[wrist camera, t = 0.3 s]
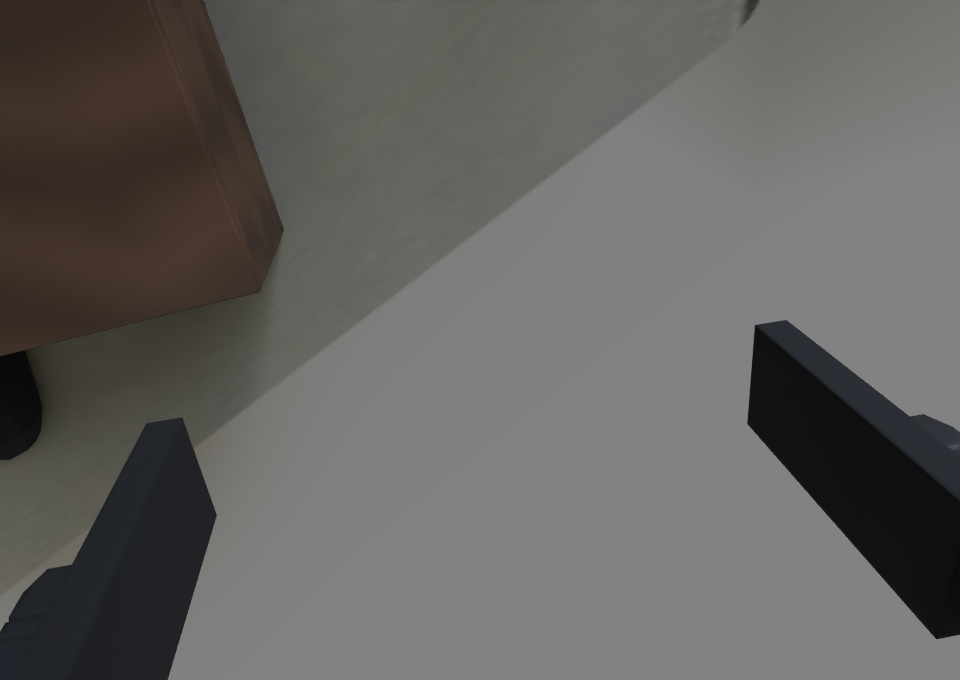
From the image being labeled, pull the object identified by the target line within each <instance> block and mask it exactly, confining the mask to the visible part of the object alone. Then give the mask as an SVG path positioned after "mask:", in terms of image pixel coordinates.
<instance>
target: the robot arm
mask: <svg viewBox="0 0 960 680" xmlns="http://www.w3.org/2000/svg"><path fill="white" fill-rule="evenodd" d="M754 333H755V334H754V345H753V358H752V359H753V360H752V371H751V385H750V397H749V410H748V423H747V424H748V425H749V426H750V427H751V428H752V430H753V431H754V432H755V433H756V434H757V435H758V436H759V438H760V439H761V440H762V441H763V442H764V443H765V444H766V446H767V447H768V448H769V449H770V450H771V451H772V452H773V454H774V455H775V456H776V457H777V458H778V459H779V460H780V461H781V463H782V464H783V465H784V466H785V467H786V468H787V469H788V471H789V472H790V473H791V474H792V475H793V476H794V477H795V479H796V480H797V481H798V482H799V483H800V484H801V485H802V487H803V488H804V489H805V490H806V491H807V492H808V493H809V495H810V496H811V497H812V498H813V499H814V500H815V501H816V503H817V504H818V505H819V506H820V507H821V508H822V509H823V511H824V512H825V513H826V514H827V515H828V516H829V517H830V519H831V520H832V521H833V522H834V523H835V524H836V525H837V527H838V528H839V529H840V530H841V531H842V532H843V533H844V534H845V536H846V537H847V538H848V539H849V540H850V541H851V542H852V544H853V545H854V546H855V547H856V548H857V549H858V550H859V552H860V553H861V554H862V555H863V556H864V557H865V558H866V560H867V561H868V562H869V563H870V564H871V565H872V566H873V567H874V569H875V570H876V571H877V572H878V573H879V574H880V576H882V578H883V579H884V580H885V581H886V582H887V584H888V585H889V586H890V587H891V588H892V589H893V590H894V591H895V593H896V594H897V595H898V596H899V597H900V598H901V599H902V601H903V602H904V603H905V604H906V605H907V606H908V607H909V609H910V610H911V611H912V612H913V613H914V614H915V615H916V617H917V618H918V619H919V620H920V621H921V622H922V623H923V624H924V626H925V627H926V628H927V629H928V630H929V631H930V633H931V634H932V635H933V636H934V637H935V638H936V639H940V638H945V637H950V636H955V635H960V432H959V431H957V430H956V429H955V428H953V427H952V426H949V425H947V424H945V423H942V422H940V421H938V420H935V419H933V418H931V417H928V416H926V415H924V414H923V415H917V416H911V417H910V416H908V415H907V414H906V413H904V412H903V411H902V410H901V409H899V408H898V407H897V406H895V405H894V404H893V403H892V402H890V401H889V400H888V399H887V398H885V397H884V396H883V395H881V394H880V393H879V392H878V391H876V390H875V389H874V388H872V387H871V386H870V385H869V384H867V383H866V382H865V381H864V380H862V379H861V378H860V377H858V376H857V375H856V374H855V373H853V372H852V371H851V370H849V369H848V368H847V367H845V366H844V365H843V364H842V363H841V362H839V361H838V360H837V359H835V358H834V357H833V356H832V355H830V354H829V353H828V352H826V351H825V350H824V349H823V348H821V347H820V346H819V345H817V344H816V343H815V342H814V341H812V340H811V339H810V338H809V337H807V336H806V335H805V334H803V333H802V332H801V331H800V330H798V329H797V328H796V327H794V326H793V325H792V324H791V323H789V322H788V321H787V320H785V321H778V322H772V323H766V324H759V325H755V332H754ZM216 516H217V515H216V512H215V509H214V506H213V503H212V500H211V498H210V495H209V492H208V489H207V486H206V483H205V481H204V478H203V475H202V472H201V469H200V467H199V464H198V461H197V458H196V455H195V452H194V450H193V447H192V444H191V441H190V438H189V435H188V433H187V430H186V427H185V424H184V421H183V418H177V419H171V420H164V421H158V422H152V423H146V425H145V427H144V429H143V431H142V433H141V435H140V437H139V439H138V440H137V442H136V444H135V446H134V448H133V450H132V452H131V454H130V456H129V458H128V459H127V461H126V463H125V465H124V467H123V469H122V471H121V473H120V475H119V476H118V478H117V480H116V482H115V484H114V486H113V488H112V490H111V492H110V494H109V495H108V497H107V499H106V501H105V503H104V505H103V507H102V509H101V511H100V513H99V514H98V516H97V518H96V520H95V522H94V524H93V526H92V528H91V530H90V532H89V533H88V535H87V537H86V539H85V541H84V543H83V545H82V547H81V549H80V551H79V552H78V554H77V556H76V558H75V560H74V562H73V564H72V565H68V566H63V567H57V568H52V569H47V570H46V571H45V572H44V573H43V574H42V575H41V576H40V577H39V578H38V579H37V580H36V581H35V582H34V583H33V584H32V585H31V586H30V587H29V588H28V589H27V590H25V591H24V592H23V594H22V596H21V597H20V599H19V601H18V602H17V604H16V606H15V608H14V609H13V611H12V613H11V614H10V616H9V622H7V623H5V625H4V626H3V628H2V630H1V631H0V680H168V677H169V673H170V669H171V667H172V663H173V660H174V656H175V653H176V650H177V646H178V643H179V640H180V636H181V633H182V630H183V626H184V623H185V620H186V616H187V613H188V610H189V606H190V603H191V599H192V596H193V593H194V589H195V586H196V583H197V580H198V576H199V573H200V569H201V566H202V562H203V559H204V556H205V553H206V549H207V546H208V543H209V539H210V536H211V533H212V529H213V526H214V523H215V519H216Z"/></svg>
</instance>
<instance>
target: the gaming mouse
mask: <svg viewBox="0 0 960 680" xmlns="http://www.w3.org/2000/svg"><path fill="white" fill-rule="evenodd" d="M41 417H42V405H41V401H40V398H39V394H38V390H37V387H36V384H35V381H34V378H33V375H32V373H31V370H30V367H29V364H28V360H27V357H26V354H25V351H24V350H23V351H19V352H15V353H11V354H7V355H3V356H0V460H11V459H12V458H14V457H16V456H18V455H19V454H21V453H23V452H25V451H26V450H28V449H29V448H30V447H31V446H32V445H33V444H34V443H35V442H36V440H37V437H38V435H39V433H40V431H41Z"/></svg>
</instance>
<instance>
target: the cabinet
mask: <svg viewBox="0 0 960 680" xmlns="http://www.w3.org/2000/svg"><path fill="white" fill-rule="evenodd" d="M283 230H284V229H283V226H282V223H281V220H280V217H279V214H278V211H277V209H276V206H275V203H274V200H273V197H272V194H271V192H270V189H269V186H268V183H267V180H266V177H265V175H264V172H263V169H262V166H261V163H260V160H259V158H258V155H257V152H256V149H255V146H254V143H253V140H252V138H251V135H250V132H249V129H248V126H247V123H246V121H245V118H244V115H243V112H242V109H241V106H240V104H239V101H238V98H237V95H236V92H235V89H234V87H233V84H232V81H231V78H230V75H229V72H228V69H227V67H226V64H225V61H224V58H223V55H222V52H221V50H220V47H219V44H218V41H217V38H216V35H215V33H214V30H213V27H212V24H211V21H210V18H209V16H208V13H207V10H206V7H205V4H204V1H203V0H0V356H3V355H7V354H11V353H15V352H19V351H23V350H27V349H31V348H35V347H39V346H43V345H47V344H52V343H56V342H60V341H64V340H68V339H72V338H76V337H80V336H84V335H88V334H92V333H96V332H100V331H104V330H108V329H112V328H116V327H120V326H124V325H128V324H132V323H136V322H140V321H144V320H148V319H152V318H157V317H161V316H165V315H169V314H173V313H177V312H181V311H185V310H189V309H193V308H197V307H201V306H205V305H209V304H213V303H217V302H221V301H225V300H229V299H233V298H237V297H241V296H245V295H249V294H253V293H258V292H260V290H261V288H262V285H263V283H264V280H265V278H266V275H267V272H268V270H269V267H270V265H271V262H272V259H273V257H274V254H275V252H276V249H277V246H278V244H279V241H280V239H281V236H282V233H283Z"/></svg>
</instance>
